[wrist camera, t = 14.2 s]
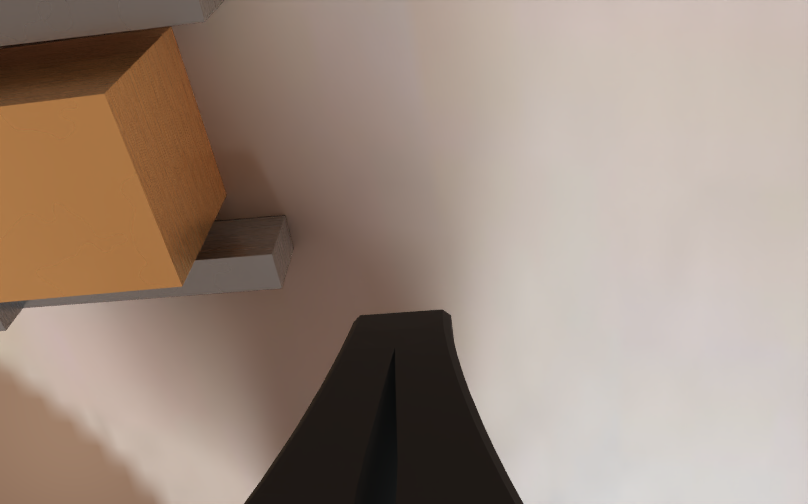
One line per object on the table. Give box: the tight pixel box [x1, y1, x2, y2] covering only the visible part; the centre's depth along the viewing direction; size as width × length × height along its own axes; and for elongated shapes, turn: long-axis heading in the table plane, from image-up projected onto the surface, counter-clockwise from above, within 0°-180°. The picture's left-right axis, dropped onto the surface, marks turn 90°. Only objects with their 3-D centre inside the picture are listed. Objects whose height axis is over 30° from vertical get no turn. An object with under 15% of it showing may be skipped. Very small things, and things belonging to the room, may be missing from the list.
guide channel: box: [0, 0, 294, 331], centre depth 18 cm, size 10×9×3 cm
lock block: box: [0, 26, 227, 303], centre depth 18 cm, size 6×5×4 cm
